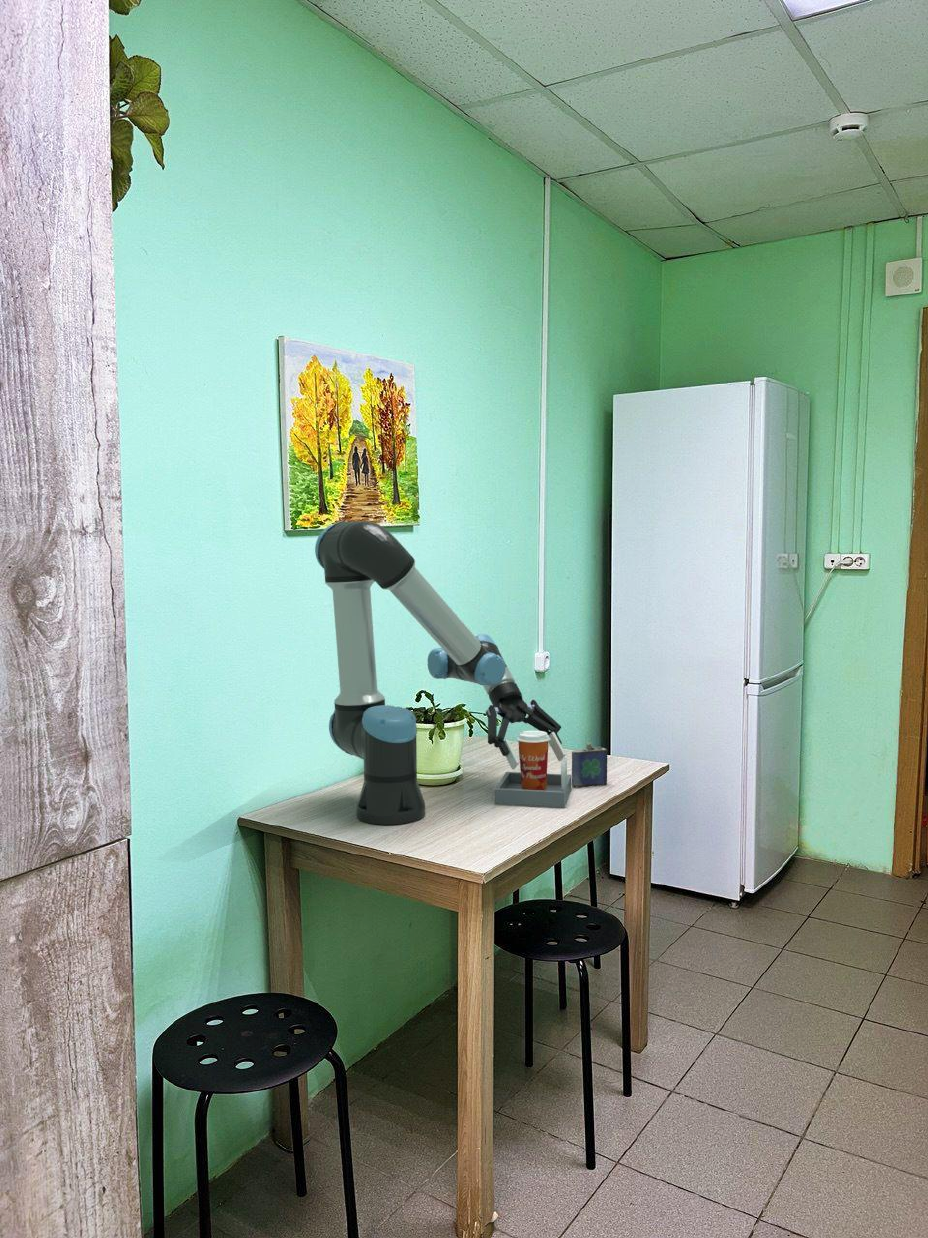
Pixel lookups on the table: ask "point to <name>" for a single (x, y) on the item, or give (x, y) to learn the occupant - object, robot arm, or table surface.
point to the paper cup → (533, 759)
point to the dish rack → (554, 795)
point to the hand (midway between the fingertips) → (539, 762)
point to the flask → (589, 766)
